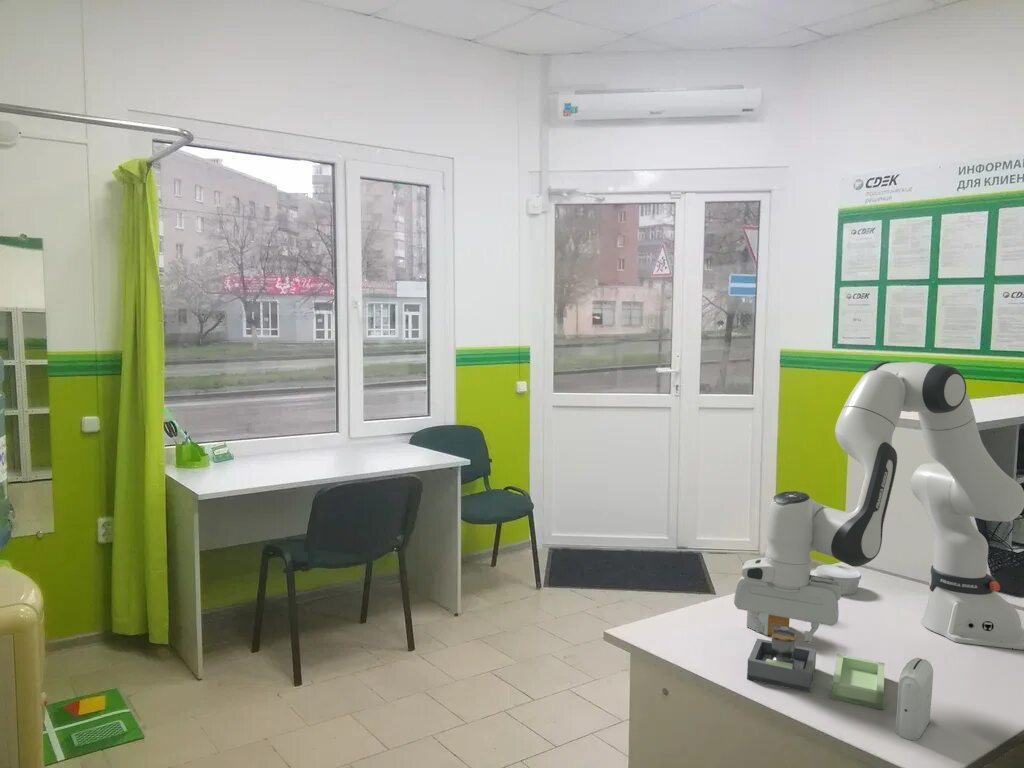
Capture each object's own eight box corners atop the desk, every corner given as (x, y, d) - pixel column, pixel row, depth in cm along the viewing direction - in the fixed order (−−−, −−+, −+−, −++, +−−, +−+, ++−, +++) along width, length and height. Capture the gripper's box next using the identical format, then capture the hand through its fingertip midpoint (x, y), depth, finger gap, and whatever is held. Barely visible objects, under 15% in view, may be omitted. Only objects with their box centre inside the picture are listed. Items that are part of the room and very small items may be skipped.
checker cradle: (815, 668, 164) (816, 647, 164) (809, 692, 153) (810, 670, 153) (756, 656, 169) (757, 635, 169) (746, 679, 159) (748, 657, 158)
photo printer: (918, 744, 136) (923, 675, 135) (892, 735, 139) (896, 668, 137) (932, 721, 144) (937, 656, 142) (907, 712, 146) (911, 649, 145)
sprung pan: (804, 665, 163) (804, 661, 163) (800, 681, 156) (800, 677, 156) (764, 657, 167) (764, 653, 167) (758, 672, 160) (759, 668, 159)
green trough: (883, 677, 161) (884, 663, 160) (882, 709, 147) (883, 694, 147) (836, 667, 165) (837, 653, 164) (831, 698, 151) (832, 683, 151)
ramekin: (866, 590, 212) (868, 571, 211) (848, 600, 204) (850, 580, 204) (826, 579, 220) (827, 561, 219) (808, 588, 212) (809, 570, 212)
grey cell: (795, 663, 162) (797, 626, 162) (792, 672, 158) (795, 634, 157) (772, 658, 164) (774, 621, 164) (768, 667, 160) (770, 629, 159)
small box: (767, 636, 180) (770, 582, 179) (745, 627, 185) (748, 573, 184) (790, 629, 184) (793, 576, 183) (767, 620, 190) (770, 568, 188)
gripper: (843, 575, 158) (839, 641, 159) (739, 559, 167) (736, 622, 168) (841, 584, 152) (837, 653, 153) (734, 568, 161) (731, 632, 162)
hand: (783, 636), depth 161 cm, fingers open, 8 cm apart
